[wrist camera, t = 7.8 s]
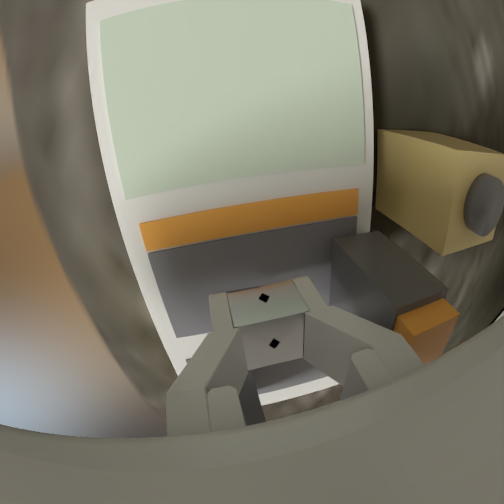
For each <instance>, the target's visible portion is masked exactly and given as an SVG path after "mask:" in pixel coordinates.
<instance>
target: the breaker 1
mask: <svg viewBox="0 0 504 504" xmlns="http://www.w3.org/2000/svg"><path fill="white" fill-rule="evenodd" d="M238 397H239V400H240V404H241V407H242V411H243V415H244V418H245V422H246V425H247V426H249V425H254V424H259V423H263V422H266V421H265V417H264V414H263V410H262V407H261V403H260V399H259V395H258V392H257V388H256V384H255V380H254V377H253V373H252V370H248V374H247V377H246V379H245V382H244V384H243V386H242V389H241V391H240V394H239V396H238Z"/></svg>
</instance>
